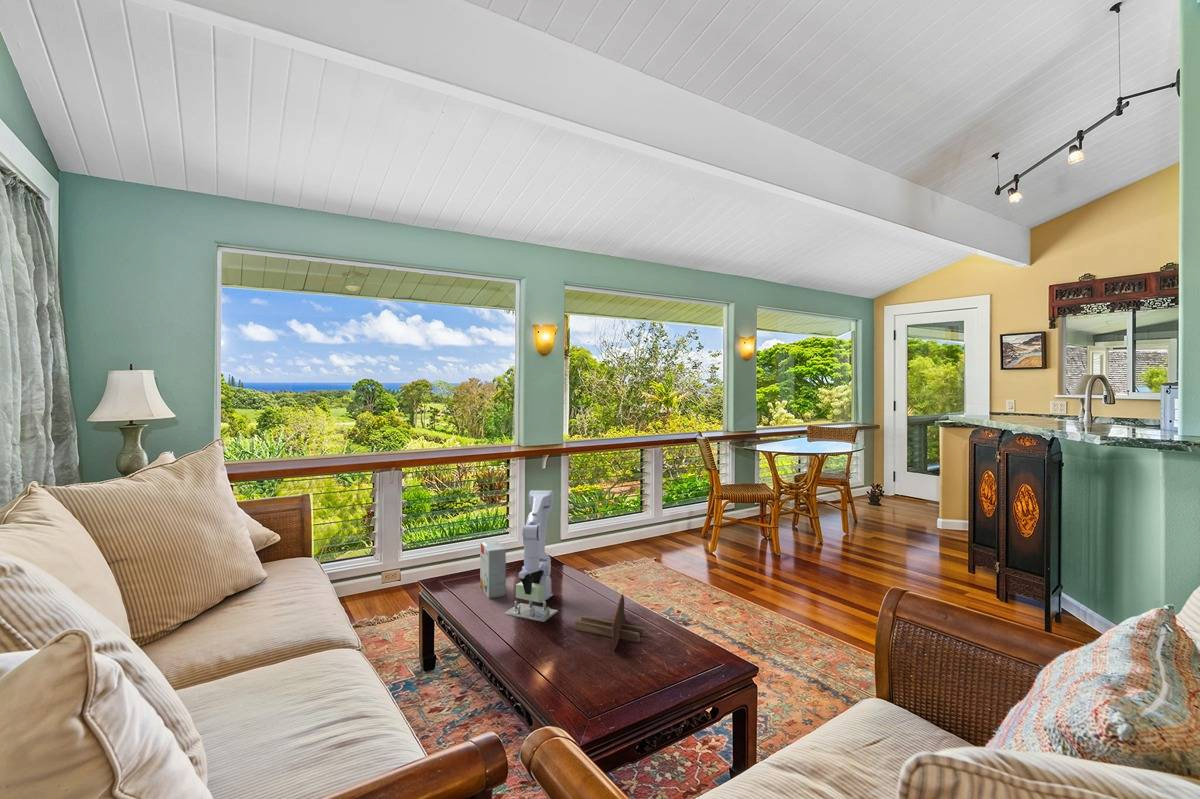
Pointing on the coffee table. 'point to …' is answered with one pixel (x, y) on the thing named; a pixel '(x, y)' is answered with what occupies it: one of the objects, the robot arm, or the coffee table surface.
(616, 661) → the coffee table surface
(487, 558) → the hard drive box
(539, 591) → the pale green block
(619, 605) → the wooden tablet
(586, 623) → the tablet cradle
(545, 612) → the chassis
